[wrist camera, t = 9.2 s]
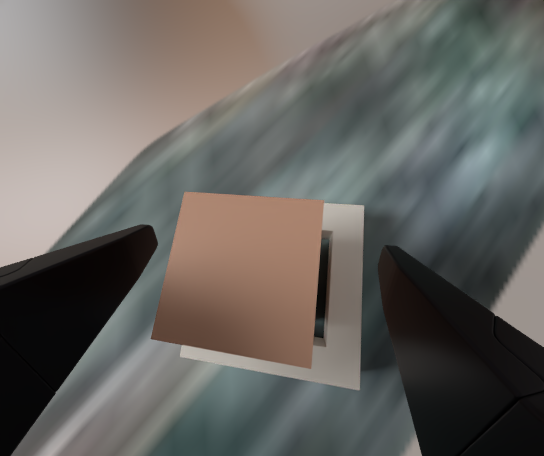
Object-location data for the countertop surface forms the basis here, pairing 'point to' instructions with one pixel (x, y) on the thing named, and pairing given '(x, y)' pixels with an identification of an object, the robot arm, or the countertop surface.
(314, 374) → the socket block
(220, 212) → the plug
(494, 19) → the countertop surface
